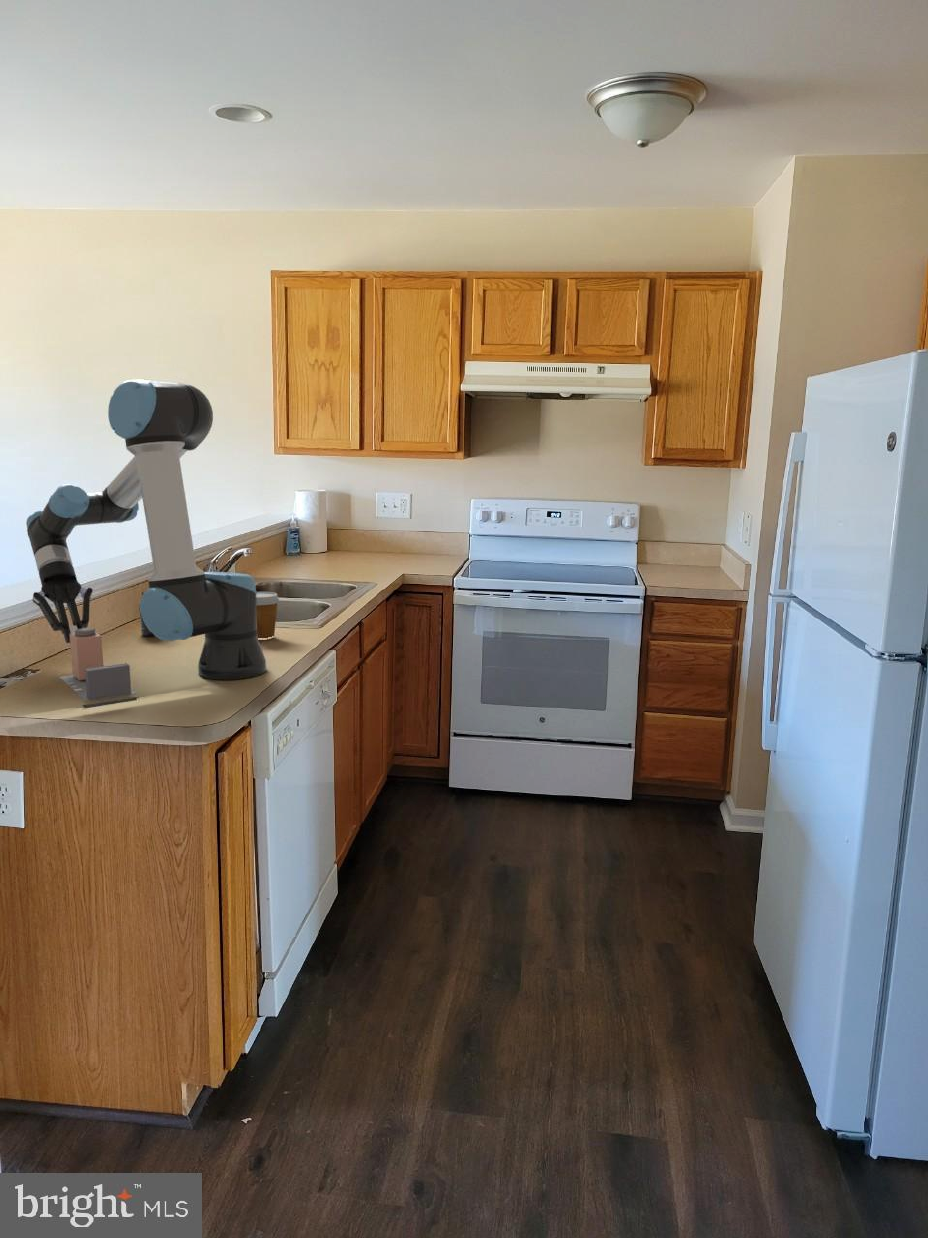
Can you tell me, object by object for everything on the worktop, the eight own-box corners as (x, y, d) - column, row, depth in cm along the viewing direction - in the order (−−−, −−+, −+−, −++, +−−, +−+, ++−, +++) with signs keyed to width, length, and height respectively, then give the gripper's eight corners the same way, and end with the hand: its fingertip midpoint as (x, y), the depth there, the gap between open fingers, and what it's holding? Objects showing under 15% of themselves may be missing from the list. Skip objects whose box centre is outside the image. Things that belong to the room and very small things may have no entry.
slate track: (59, 683, 187) (57, 649, 185) (107, 676, 193) (105, 644, 191) (85, 708, 170) (82, 671, 168) (136, 700, 176) (134, 664, 174)
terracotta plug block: (72, 673, 187) (69, 629, 185) (96, 670, 190) (93, 626, 188) (79, 680, 182) (76, 634, 180) (104, 676, 185) (101, 631, 183)
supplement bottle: (158, 630, 239) (156, 588, 237) (172, 634, 235) (170, 591, 233) (135, 634, 234) (133, 591, 232) (149, 638, 230) (147, 594, 227)
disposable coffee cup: (287, 638, 233) (286, 594, 230) (257, 643, 226) (256, 599, 223) (266, 632, 239) (265, 590, 237) (236, 638, 232) (235, 594, 230)
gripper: (83, 576, 207) (107, 658, 197) (23, 581, 199) (45, 666, 190) (87, 557, 202) (112, 640, 192) (26, 561, 194) (48, 647, 184)
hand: (78, 653), depth 191 cm, fingers closed
